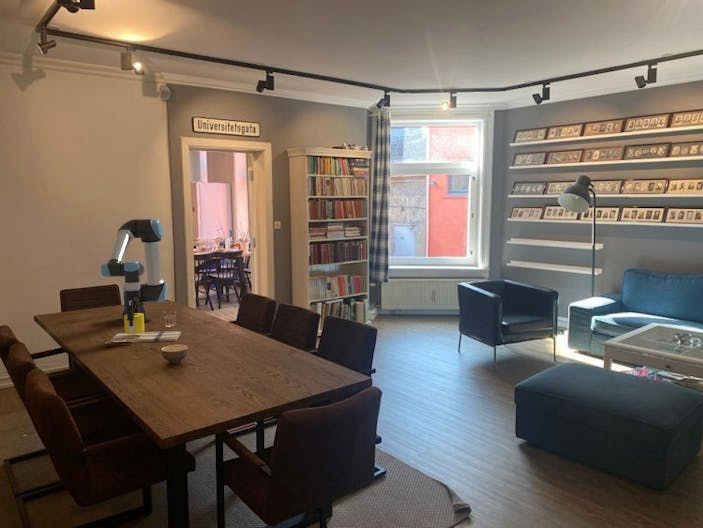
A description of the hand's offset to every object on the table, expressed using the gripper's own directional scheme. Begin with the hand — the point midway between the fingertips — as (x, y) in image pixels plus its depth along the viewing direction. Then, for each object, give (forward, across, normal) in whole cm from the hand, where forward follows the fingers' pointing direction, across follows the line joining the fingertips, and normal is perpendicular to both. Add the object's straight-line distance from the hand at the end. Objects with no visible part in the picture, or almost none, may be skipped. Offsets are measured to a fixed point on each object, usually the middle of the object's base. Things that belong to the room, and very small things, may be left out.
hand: (134, 329), depth 288 cm
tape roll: (+1, 0, 0) cm, 1 cm away
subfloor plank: (+5, 0, +6) cm, 8 cm away
